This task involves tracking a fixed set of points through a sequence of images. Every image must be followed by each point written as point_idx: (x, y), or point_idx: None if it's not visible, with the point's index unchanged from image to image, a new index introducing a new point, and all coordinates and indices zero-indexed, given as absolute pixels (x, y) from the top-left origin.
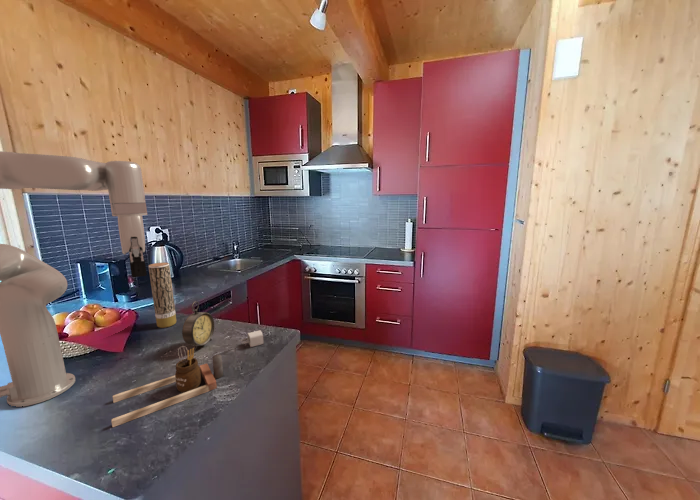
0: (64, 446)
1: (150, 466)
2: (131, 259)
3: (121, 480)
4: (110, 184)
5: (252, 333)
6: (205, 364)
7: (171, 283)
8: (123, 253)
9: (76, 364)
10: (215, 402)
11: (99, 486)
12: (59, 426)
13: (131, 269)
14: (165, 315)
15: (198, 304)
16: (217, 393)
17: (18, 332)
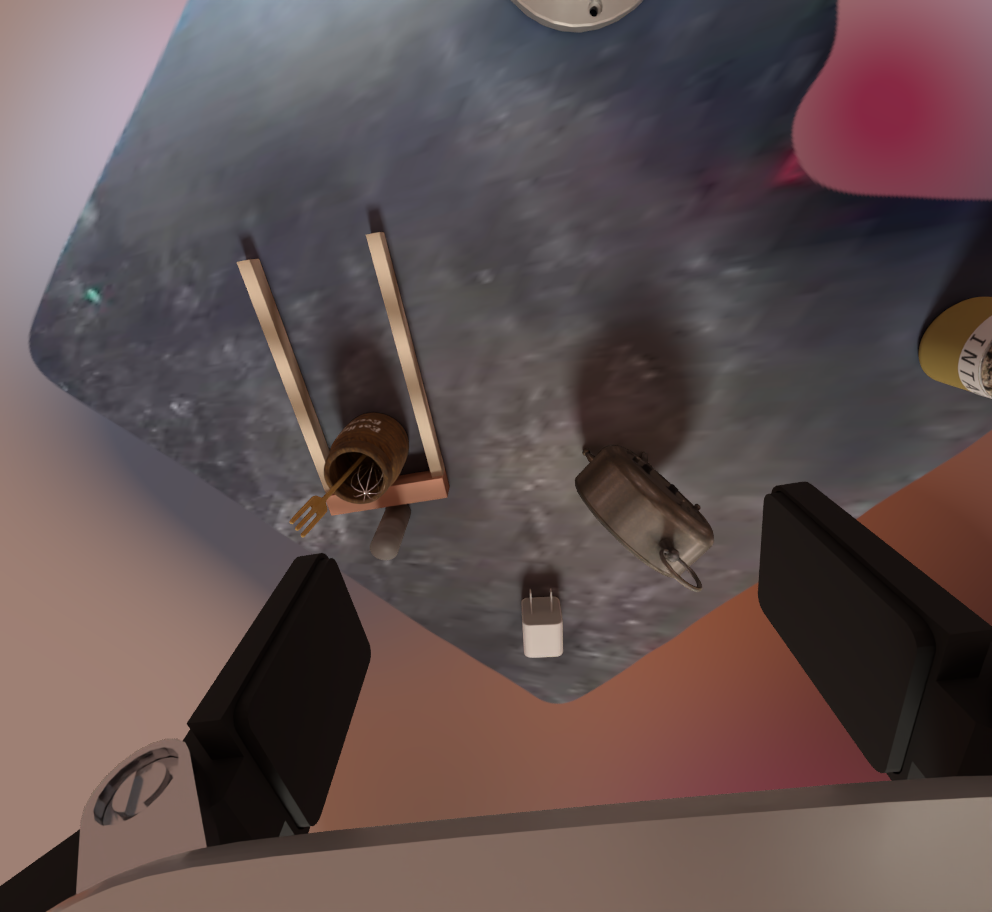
0: (199, 143)
1: (93, 375)
2: (89, 825)
3: (62, 323)
4: None
5: (545, 635)
6: (441, 493)
7: None
8: (51, 909)
9: None
10: (277, 498)
11: (52, 280)
12: (300, 86)
13: (259, 629)
14: (973, 358)
15: (696, 582)
16: None
17: None
